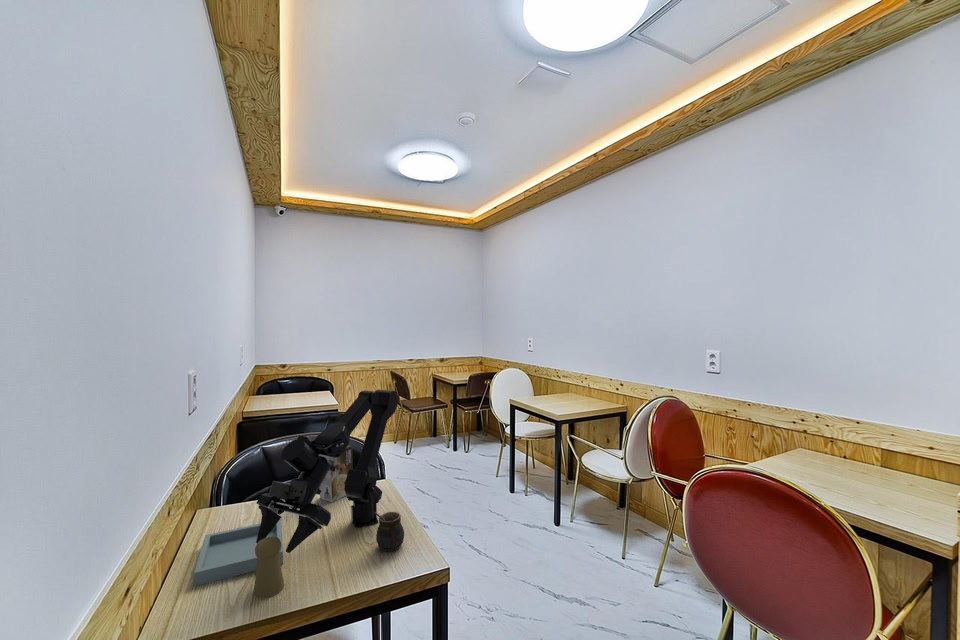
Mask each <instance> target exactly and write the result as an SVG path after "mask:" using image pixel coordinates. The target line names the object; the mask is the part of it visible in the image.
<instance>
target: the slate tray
mask: <svg viewBox="0 0 960 640" xmlns="http://www.w3.org/2000/svg"><path fill="white" fill-rule="evenodd" d="M260 524H261V523H257V524H252V525H247V526H243V527H237V528H233V529H227V530H222V531H218V532H213V533H210V534H209V533H208V534H205V536H204V539H203V542H202V545H201V548H200V552H199V556H198V558H197V561H196V565H195V568H194V571H193V579H194V580H193V582H194V583H193V586H194V587H196V586H200V585H204V584H208V583H213V582H217V581H220V580H224V579H228V578H231V577H235V576H239V575H243V574H247V573H252V572H256V569H257V561H258V558H257V557H256V554H255V547H256V545H257V543H256V540H257V536H258V532H259V528H260ZM282 524H283V523H282V518H281V519H280V520H279V521H278V523H277V524H276V525H275V526H274V528H273V529H272V530H271V532H270V533H269V534H268V535H267V537H277V538H279V539H280V541H281V550H280V552H279V558H280V564H281V565H282V564H284V549H283V545H284V544H283V525H282ZM267 537H266V538H267Z"/></svg>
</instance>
